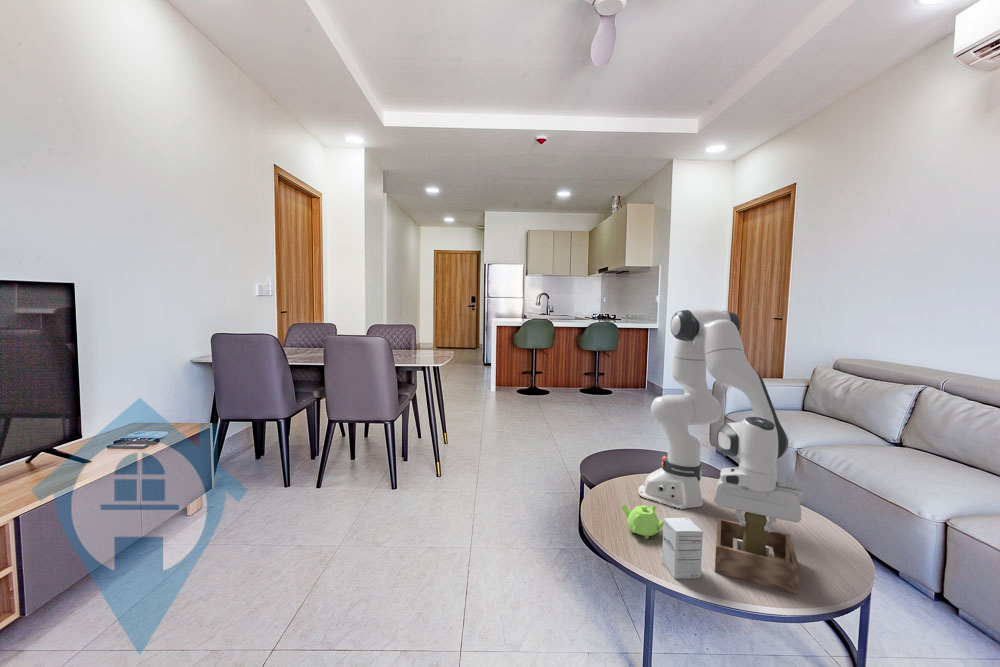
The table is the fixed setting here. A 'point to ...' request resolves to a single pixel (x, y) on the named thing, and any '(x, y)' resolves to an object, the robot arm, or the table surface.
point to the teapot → (643, 520)
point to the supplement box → (682, 547)
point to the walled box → (757, 558)
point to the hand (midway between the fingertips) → (754, 528)
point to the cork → (754, 534)
